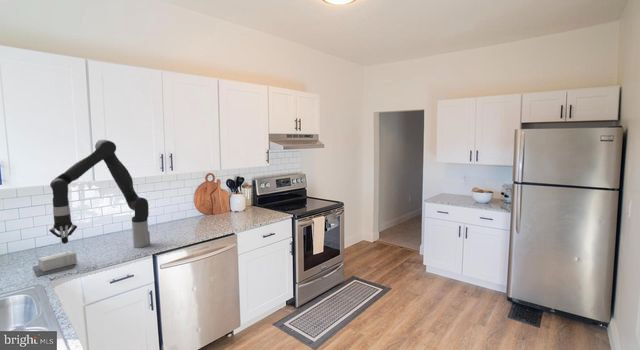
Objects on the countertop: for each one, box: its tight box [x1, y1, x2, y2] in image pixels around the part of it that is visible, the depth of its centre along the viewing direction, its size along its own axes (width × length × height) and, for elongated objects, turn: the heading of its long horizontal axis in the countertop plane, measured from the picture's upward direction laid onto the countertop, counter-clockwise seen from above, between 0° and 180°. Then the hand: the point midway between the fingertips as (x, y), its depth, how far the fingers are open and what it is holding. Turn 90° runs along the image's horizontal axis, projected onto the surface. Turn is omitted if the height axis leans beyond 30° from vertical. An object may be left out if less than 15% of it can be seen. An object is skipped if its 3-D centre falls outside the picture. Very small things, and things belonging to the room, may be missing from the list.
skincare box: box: [37, 250, 78, 272], centre depth 183 cm, size 8×7×16 cm
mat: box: [32, 264, 75, 278], centre depth 183 cm, size 16×18×1 cm
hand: (65, 243), depth 186 cm, fingers closed
